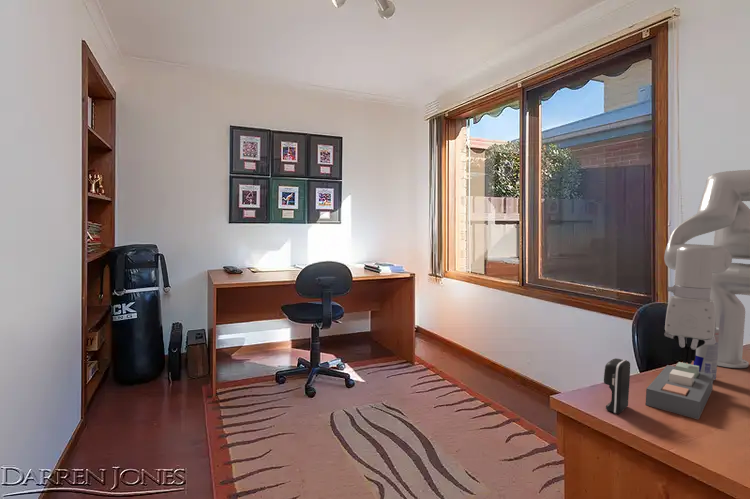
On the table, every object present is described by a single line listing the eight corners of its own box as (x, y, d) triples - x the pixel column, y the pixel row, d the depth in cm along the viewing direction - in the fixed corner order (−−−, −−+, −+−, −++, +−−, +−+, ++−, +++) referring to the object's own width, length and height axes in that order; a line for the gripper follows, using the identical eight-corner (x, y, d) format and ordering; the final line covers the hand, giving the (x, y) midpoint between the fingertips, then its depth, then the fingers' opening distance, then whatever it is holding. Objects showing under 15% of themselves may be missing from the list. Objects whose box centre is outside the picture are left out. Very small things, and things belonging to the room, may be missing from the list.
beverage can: (707, 376, 117) (710, 324, 116) (720, 383, 112) (724, 329, 111) (688, 375, 117) (691, 323, 116) (700, 382, 112) (704, 328, 111)
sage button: (678, 373, 111) (678, 361, 110) (698, 377, 107) (699, 366, 107) (674, 377, 108) (675, 365, 107) (695, 382, 104) (696, 370, 104)
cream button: (672, 381, 105) (673, 369, 105) (693, 386, 102) (694, 373, 102) (668, 385, 102) (669, 373, 102) (690, 391, 99) (691, 378, 99)
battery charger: (611, 401, 99) (613, 355, 98) (628, 406, 96) (631, 359, 95) (600, 409, 94) (602, 361, 94) (618, 415, 92) (621, 365, 91)
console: (666, 378, 114) (667, 365, 114) (712, 389, 107) (713, 374, 107) (645, 404, 97) (646, 388, 97) (698, 419, 90) (699, 401, 90)
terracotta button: (665, 396, 99) (666, 383, 99) (687, 402, 96) (688, 388, 96) (661, 401, 96) (662, 388, 96) (684, 407, 93) (685, 394, 93)
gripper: (654, 291, 109) (650, 358, 110) (728, 299, 98) (723, 373, 99) (660, 288, 114) (656, 352, 115) (731, 295, 103) (726, 366, 104)
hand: (687, 362), depth 107 cm, fingers closed
